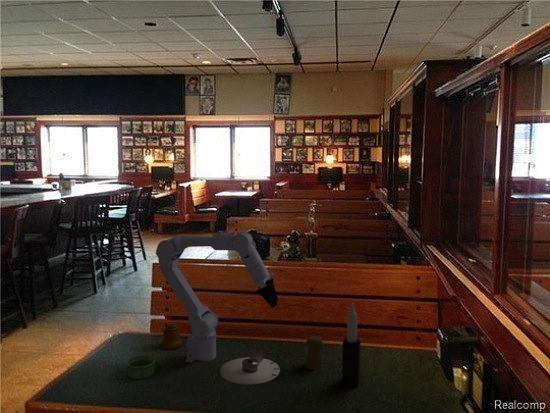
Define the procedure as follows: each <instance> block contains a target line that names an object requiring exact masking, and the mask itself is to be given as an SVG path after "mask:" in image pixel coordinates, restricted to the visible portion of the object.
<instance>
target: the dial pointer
mask: <svg viewBox="0 0 550 413" xmlns="http://www.w3.org/2000/svg"><path fill="white" fill-rule="evenodd" d="M249 357H250V358H248V359H244V360H243V361H242V370H243V371H244V372H255V371H257V370H258V364H259V363H260V362H261V361H263V358H264V352H263V350H258V351H256V352H255V353H254V354H253V355H252V356H249Z"/></svg>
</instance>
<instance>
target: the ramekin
mask: <svg viewBox="0 0 550 413" xmlns="http://www.w3.org/2000/svg"><path fill="white" fill-rule="evenodd" d="M155 364H156V357H154V356H153V355H148V354H141V355H140V354H139V355H136V356H132V357H130V358H128V360H126V364H125V365H126V368H127V376H128V377H129V378H130V379H133V380H145V379H147V378H151V377H152V376H153V375H154V374H155Z"/></svg>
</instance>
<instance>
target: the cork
mask: <svg viewBox="0 0 550 413" xmlns="http://www.w3.org/2000/svg"><path fill="white" fill-rule="evenodd" d="M323 344H324V343H323V339H322V338H321V337H320V336H316V335H312V336H309V337H308V338H307V339H306V346H307V354H306V362H305V368H307V369H309V370H313V371H317V370H318V371H317V372H316V374H315V375H316V376H317V375H321V374H323V373H324V364H323V355H322V347H323Z"/></svg>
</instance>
